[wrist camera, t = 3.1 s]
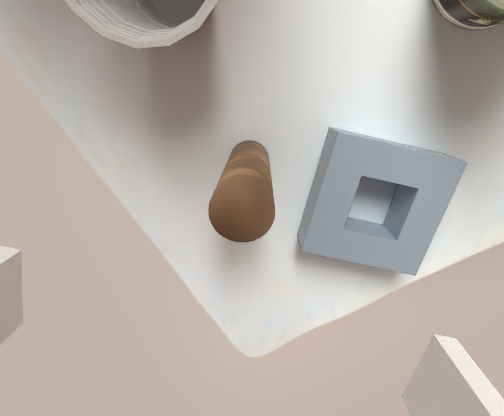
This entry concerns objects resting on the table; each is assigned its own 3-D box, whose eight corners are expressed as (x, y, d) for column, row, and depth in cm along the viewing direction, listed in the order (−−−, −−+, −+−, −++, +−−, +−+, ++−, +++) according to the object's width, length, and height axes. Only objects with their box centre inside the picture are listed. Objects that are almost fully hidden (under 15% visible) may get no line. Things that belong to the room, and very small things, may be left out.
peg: (226, 174, 34) (203, 234, 20) (234, 136, 33) (215, 173, 19) (263, 182, 35) (266, 248, 20) (273, 145, 33) (282, 188, 19)
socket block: (297, 234, 37) (301, 251, 33) (329, 126, 32) (338, 132, 29) (399, 256, 37) (415, 275, 33) (444, 153, 33) (467, 162, 29)
